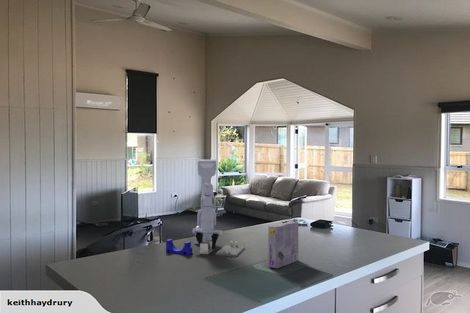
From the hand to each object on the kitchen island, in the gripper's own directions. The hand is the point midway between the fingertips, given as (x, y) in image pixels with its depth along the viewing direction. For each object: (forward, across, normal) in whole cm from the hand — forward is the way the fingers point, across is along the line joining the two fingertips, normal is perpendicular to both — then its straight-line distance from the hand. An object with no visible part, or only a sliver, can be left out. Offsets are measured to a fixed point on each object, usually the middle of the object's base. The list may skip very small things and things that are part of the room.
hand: (207, 248), depth 200 cm
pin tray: (+1, +11, +3) cm, 11 cm away
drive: (+2, 0, 0) cm, 2 cm away
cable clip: (+2, -12, -6) cm, 14 cm away
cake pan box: (+2, +39, -9) cm, 40 cm away
